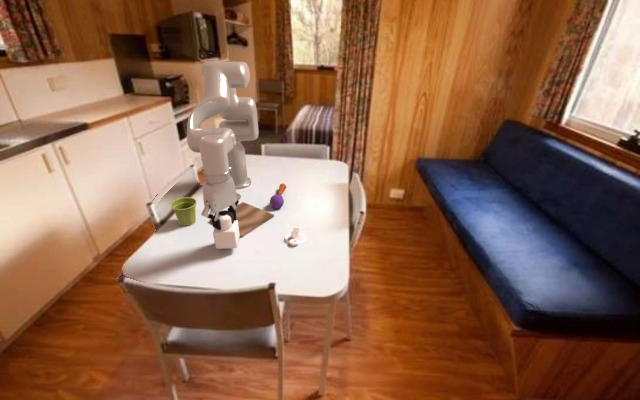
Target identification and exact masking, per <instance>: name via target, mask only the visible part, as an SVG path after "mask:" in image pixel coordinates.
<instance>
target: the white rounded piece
mask: <svg viewBox="0 0 640 400" xmlns="http://www.w3.org/2000/svg"><path fill="white" fill-rule="evenodd" d="M290 236H291V239H289V237H290ZM300 236H301V237H302V240H301V241H300V240H298V239H299V238H300ZM306 240H307V235H305V234H304V233H302V232H300V229H299V227H292V228H291V229H290V232H289V233H287V234H286V235H285V236H284V241H285V242H286V243H287V244H289V245H290V246H298V245H301V244H303V243H305V242H306Z"/></svg>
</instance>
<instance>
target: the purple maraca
mask: <svg viewBox="0 0 640 400" xmlns="http://www.w3.org/2000/svg"><path fill="white" fill-rule="evenodd" d="M286 189H287V184H285V183H280V184H279V187H278V192H277V194H273V195H272V196H271V197H270V198H269V204H270V206H271V207H272V208H273V209H279V208H282V207H283V206H284V203H285V199H284V197H283V196H282V194H283V193H284V192H285V191H286Z"/></svg>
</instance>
